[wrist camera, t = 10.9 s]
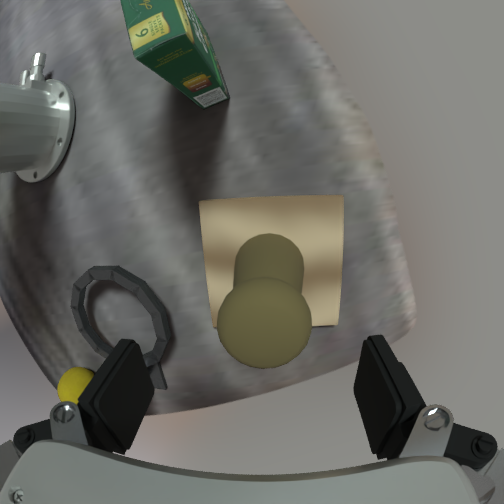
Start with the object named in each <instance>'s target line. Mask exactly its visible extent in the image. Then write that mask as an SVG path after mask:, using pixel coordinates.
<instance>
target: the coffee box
mask: <svg viewBox="0 0 504 504" xmlns="http://www.w3.org/2000/svg"><path fill="white" fill-rule="evenodd" d="M121 5H122V9H123V13H124V17H125V22H126V27H127V31H128V34H129V39H130V42H131V46H132V50H133V54H134V57H135V59H137V60H138V61H139V62H141V63H142V64H144V65H145V66H147V67H148V68H150V69H151V70H152V71H154V72H155V73H157V74H158V75H159V76H161V77H162V78H164V79H165V80H166V81H168V82H169V83H170V84H172V85H173V86H174V87H175V88H177V89H178V90H180V91H181V92H182V93H183V94H185V95H186V96H187V97H188V98H190V99H191V100H192V101H193V102H195V103H196V104H197V105H198V106H200V107H201V108H203V109H206V108H208V107H210V106H212V105H215V104H217V103H219V102H222V101H224V100H227V99H229V98H230V95H229V92H228V89H227V86H226V83H225V80H224V77H223V74H222V71H221V69H220V66H219V63H218V60H217V57H216V55H215V52H214V50H213V47H212V44H211V42H210V39H209V37H208V34H207V32H206V30H205V29H204V27H203V25H202V23H201V22H200V20H199V18H198V17H197V15H196V13H195V12H194V10H193V8H192V6H191V5H190V3H189V1H188V0H121Z"/></svg>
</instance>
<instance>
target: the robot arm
mask: <svg viewBox="0 0 504 504" xmlns="http://www.w3.org/2000/svg"><path fill="white" fill-rule="evenodd" d="M45 59H46V54H45V53H37V54H35V55H33V57H32V61H31V66H30V71H27V70H26V71H23V72H22V73H21V76H20V85H13V84H7V83H0V173H6V172H14V171H15V172H16V174H17V175H18V176H19V177H20V178H21V179H22V180H24V181H26V182H29V183H30V182H38V181H42V180H44V179H46V178H48V177H49V176H50V175H51V174H52V173H53V172H54V171H55V170H56V168H57V167H58V166H59V164H60V163H61V161H62V159H63V157H64V155H65V153H66V151H67V148H68V146H69V143H70V139H71V136H72V131H73V127H74V118H75V105H74V99H73V95H72V93H71V90H70V89H69V87H68V86H67V85H66V84H65V83H63V82H62V81H58V80H55V79H48V80H45V81H44V79H45V76H44V75H42V73H43V69H44V65H45ZM153 395H154V385H153V383H152V380H151V378H150V375H149V372H148V369H147V367H146V364H145V361H144V358H143V355H142V352H141V349H140V346H139V344H137V343H136V342H135V341H134V340H130V339H121V340H120V341H119V342H118V344H117V345H116V346H115V348H114V349H113V350H112V352H111V353H110V354H109V356H108V357H107V358H106V360H105V361H104V362H103V364H102V365H101V367H100V368H99V369H98V371H97V372H96V374H95V375H94V376H93V378H92V379H91V381H90V382H89V383H88V385H87V386H86V388H85V389H84V390H83V392H82V393H81V395H80V396H79V398H78V399H77V400H78V401H79V402H78V403H77V405H76V404H75V403H73V402H71V401H64V402H60V403H58V404H57V405H55V406H54V407H53V408H52V410H51V412H50V419H48V420H44V421H41V422H38V423H34V424H31V425H27V426H24V427H22V428H20V429H18V430H17V431H16V433H15V435H14V439H13V442H12V441H11V440H9V441H7V442H5V443H4V444H2V445H0V504H504V449H501V450H498V449H497V442H496V440H495V438H494V437H493V436H492V435H490V434H488V433H485V432H481V431H478V430H475V429H471V428H468V427H465V426H461V425H458V424H455V423H453V421H454V418H453V415H452V413H451V412H450V410H449V409H447V408H446V407H444V406H442V405H436V404H435V405H430V406H426V404H425V402H424V400H423V399H422V397H421V395H420V393H419V391H418V389H417V388H416V386H415V384H414V382H413V380H412V379H411V377H410V375H409V373H408V371H407V370H406V368H405V366H404V365H403V364H402V363H401V362H398V360H397V358H396V357H395V355H394V353H393V352H392V350H391V348H390V346H389V345H388V343H387V341H386V340H385V338H384V336H383V335H373V336H368V338H367V340H364V341H363V346H362V351H361V356H360V361H359V365H358V370H357V374H356V379H355V383H354V395H355V398H356V401H357V404H358V407H359V411H360V413H361V417H362V420H363V424H364V427H365V430H366V434H367V437H368V441H369V444H370V448H371V451H372V453H373V454H376V455H377V458H378V460H379V459H383V458H387V461H382V462H376V463H371V464H366V465H361V466H356V467H350V468H343V469H336V470H329V471H321V472H312V473H300V474H282V475H242V474H241V475H240V474H224V473H212V472H203V471H194V470H187V469H181V468H174V467H168V466H163V465H158V464H154V463H149V462H145V461H140V460H136V459H132V458H129V457H125V456H121V455H118V454H114V453H113V452H116V453H119V454H123V455H124V454H125V452H126V450H127V449H130V447H131V445H132V443H133V441H134V438H135V436H136V434H137V431H138V429H139V427H140V424H141V422H142V420H143V418H144V415H145V413H146V411H147V408H148V406H149V404H150V402H151V400H152V397H153Z"/></svg>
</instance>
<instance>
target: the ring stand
mask: <svg viewBox="0 0 504 504" xmlns="http://www.w3.org/2000/svg"><path fill="white" fill-rule="evenodd" d="M93 280H113V281H114V282H116V283H118V284H119V285H121V286H123V287H124V288H126V289H128V290H129V291H131V292H133V293H134V294H135V295H136V296H137V298H138V299H139V300H140V302H141V303H142V304H143V306H144V307H145V308H146V310H147V311H148V312H149V313H150V315H151V317H152V321H153V325H154V329H155V333H156V337H157V340H156V343H155V346H154V348H153V350H152V351H150V352H148V353H146V354H144V355H143V358H144V361H145V364H146V367H147V369H148V372H149V375H150V378H151V380H152V383H153V385H154V388H157V389H164V390H166V389H167V384H166V381H165V378H164V375H163V371H162V368H161V365H160V362H159V361H160V359H161V358H162V356H163V353H164V351H165V348H166V346H167V344H168V341H169V339H170V337H171V333H170V329H169V324H168V320H167V315H166V310H165V307H164V306H163V305H162V303H161V302H160V301H159V299H158V298H157V297H156V295H155V294H154V293H153V291H152V290H151V289H150V287H149V286H148V284H147V283H146V281H144V280H142V279H140V278H139V277H137V276H135V275H133V274H132V273H130V272H128V271H127V270H125V269H123V268H122V267H120V266H94V267H92V268H90V269H89V270H88V271H86V272H85V273H84V274H83V275H82V276H81V277H80V278H79V279H78V280H77V281H76V282H75V283H74V285H73V292H72V300H71V309H72V312H73V315H74V318H75V321H76V324H77V327H78V329H79V331H80V333H81V334H82V335H83V337H84V338H85V339H86V340H87V342H88V343H89V344H90V345H91V347H92V348H93V349H94V350H95V352H97V353H98V354H100V355H101V356H103V357H104V358H107V357H108V356H109V354H110V353H111V352H112V350H113V348H112V347H110V346H109V345H107V344H106V343H104V342H103V341H102V340H101V338H100V337H99V336H98V335H97V333H96V332H95V331H94V330H93V328H92V327H91V326H90V324H89V321H88V318H87V315H86V311H85V308H84V305H83V304H84V297H85V291H86V286H87V285H89V284H90V283H91V282H92V281H93Z"/></svg>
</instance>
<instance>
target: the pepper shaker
mask: <svg viewBox="0 0 504 504" xmlns="http://www.w3.org/2000/svg"><path fill="white" fill-rule="evenodd" d="M303 277H304V260H303V256H302V254H301V252H300V250H299V248H298V247H297V246H296V245H295V244H294V243H293V242H292V241H291V240H289V239H288V238H286V237H284V236H282V235H278V234H272V233H267V234H260V235H257V236H255V237H253V238H250V239H248V240H247V241H246V242H245V243H244V244H243V245H242V246H241V247H240V249H239V251H238V253H237V255H236V258H235V265H234V281H233V290H232V291H230V292H229V293H228V294H227V295H226V297H225V299H224V301H223V303H222V304H221V306H220V309H219V311H218V317H217V331H218V335H219V338H220V342H221V343H222V345H223V346H224V347H225V349H226V350H227V352H228V353H229V354H230V355H231V356H232V357H234V358H235V359H236V360H237V361H239V362H240V363H243V364H245V365H247V366H250V367H255V368H261V369H265V368H276V367H279V366H281V365H284V364H287V363H288V362H290V361H291V360H293V359H294V358H295V357H297V356H298V355H299V354H300V353H301V352H302V350H303V349H304V348H305V346H306V345H307V343H308V340H309V337H310V334H311V330H312V317H311V311H310V308H309V306H308V304H307V302H306V300H305V298H304V296H303V295H302V286H303Z"/></svg>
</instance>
